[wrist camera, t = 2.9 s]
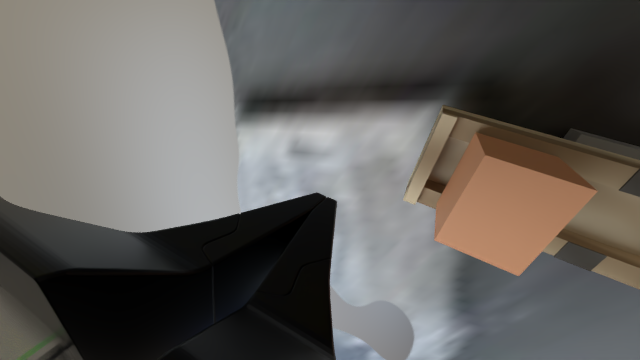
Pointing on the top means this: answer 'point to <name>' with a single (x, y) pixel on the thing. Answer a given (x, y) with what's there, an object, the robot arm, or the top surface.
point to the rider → (507, 202)
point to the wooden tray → (578, 153)
